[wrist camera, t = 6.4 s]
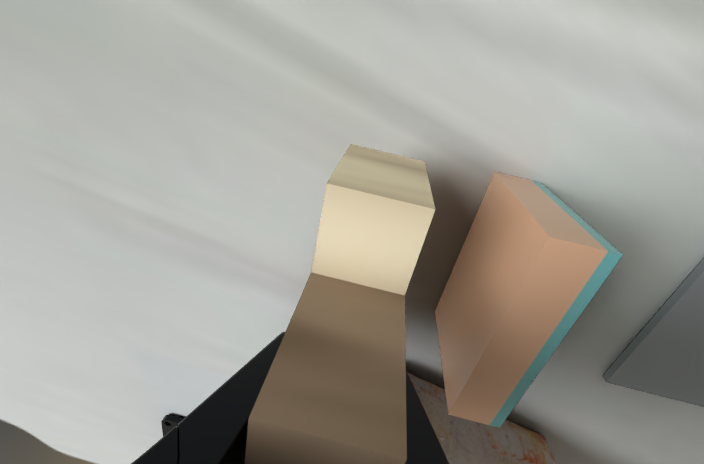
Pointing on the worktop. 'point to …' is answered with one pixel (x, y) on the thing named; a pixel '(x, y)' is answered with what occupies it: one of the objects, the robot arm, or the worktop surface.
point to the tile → (514, 295)
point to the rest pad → (669, 348)
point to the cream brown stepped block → (349, 323)
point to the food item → (479, 434)
